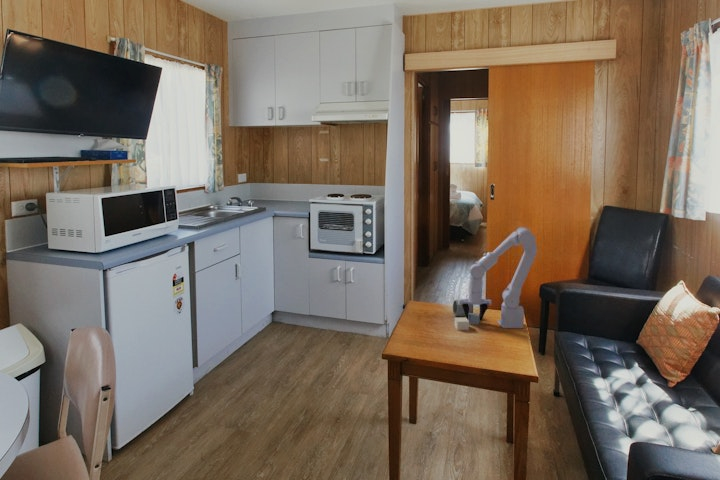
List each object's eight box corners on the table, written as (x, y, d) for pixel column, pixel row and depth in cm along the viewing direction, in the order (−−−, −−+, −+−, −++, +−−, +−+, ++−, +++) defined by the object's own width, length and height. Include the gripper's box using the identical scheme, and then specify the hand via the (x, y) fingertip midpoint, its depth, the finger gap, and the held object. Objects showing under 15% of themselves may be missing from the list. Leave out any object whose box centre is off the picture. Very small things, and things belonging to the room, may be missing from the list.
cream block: (465, 326, 226) (465, 317, 225) (468, 330, 221) (469, 321, 220) (454, 326, 225) (454, 317, 225) (457, 330, 221) (457, 321, 220)
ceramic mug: (473, 318, 235) (474, 302, 234) (456, 318, 234) (457, 302, 233) (466, 311, 245) (467, 295, 244) (450, 311, 245) (450, 295, 243)
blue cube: (476, 321, 231) (477, 313, 231) (479, 324, 228) (479, 316, 227) (467, 321, 231) (468, 313, 230) (470, 324, 227) (470, 316, 226)
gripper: (488, 288, 231) (487, 316, 233) (457, 288, 230) (455, 316, 233) (493, 292, 224) (491, 322, 226) (461, 292, 223) (459, 322, 226)
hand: (473, 319), depth 229 cm, fingers open, 6 cm apart
